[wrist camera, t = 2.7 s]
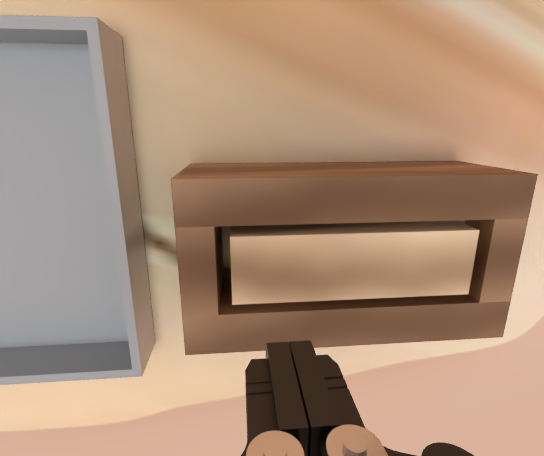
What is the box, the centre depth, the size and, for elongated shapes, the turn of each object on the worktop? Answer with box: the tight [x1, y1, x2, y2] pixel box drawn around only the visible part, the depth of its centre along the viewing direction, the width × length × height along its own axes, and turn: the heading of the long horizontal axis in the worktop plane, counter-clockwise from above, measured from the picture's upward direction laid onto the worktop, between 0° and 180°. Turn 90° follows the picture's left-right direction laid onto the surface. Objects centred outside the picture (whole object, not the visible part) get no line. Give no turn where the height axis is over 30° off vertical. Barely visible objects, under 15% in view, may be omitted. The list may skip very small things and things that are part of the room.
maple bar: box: [230, 220, 480, 305], centre depth 21 cm, size 4×14×2 cm, turn 90°
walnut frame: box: [171, 161, 538, 355], centre depth 23 cm, size 10×20×7 cm, turn 90°
